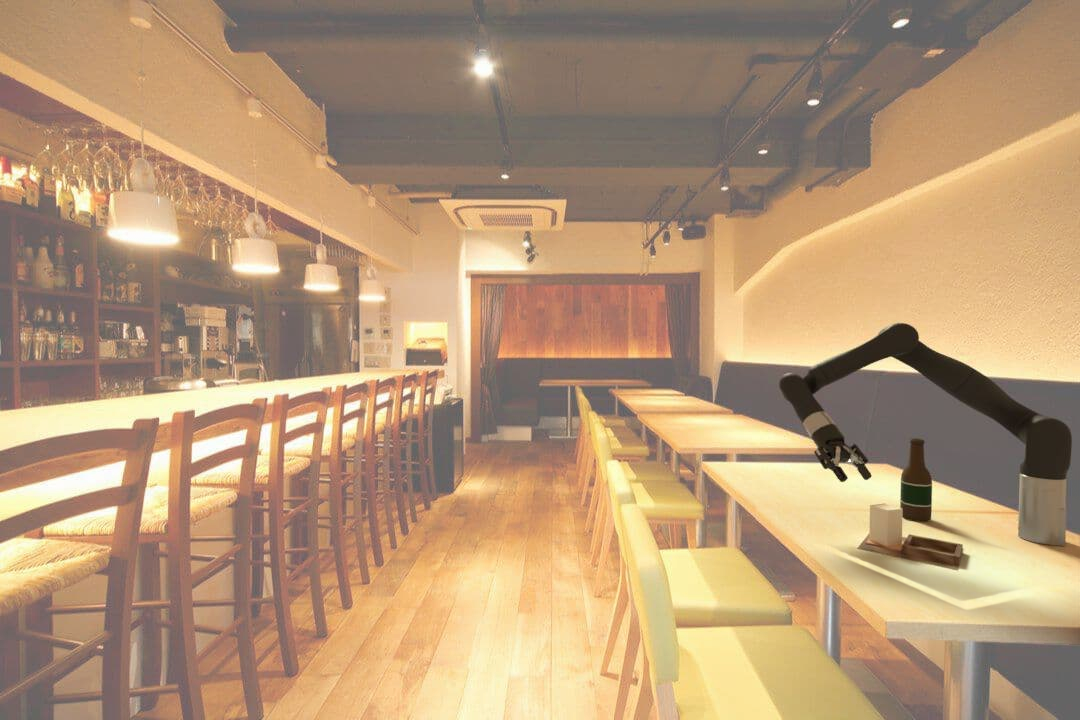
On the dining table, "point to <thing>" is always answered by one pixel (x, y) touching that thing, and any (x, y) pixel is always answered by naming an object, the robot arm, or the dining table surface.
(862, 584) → the dining table surface
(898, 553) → the puzzle board
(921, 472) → the beer bottle
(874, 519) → the cream block
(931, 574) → the dining table surface
